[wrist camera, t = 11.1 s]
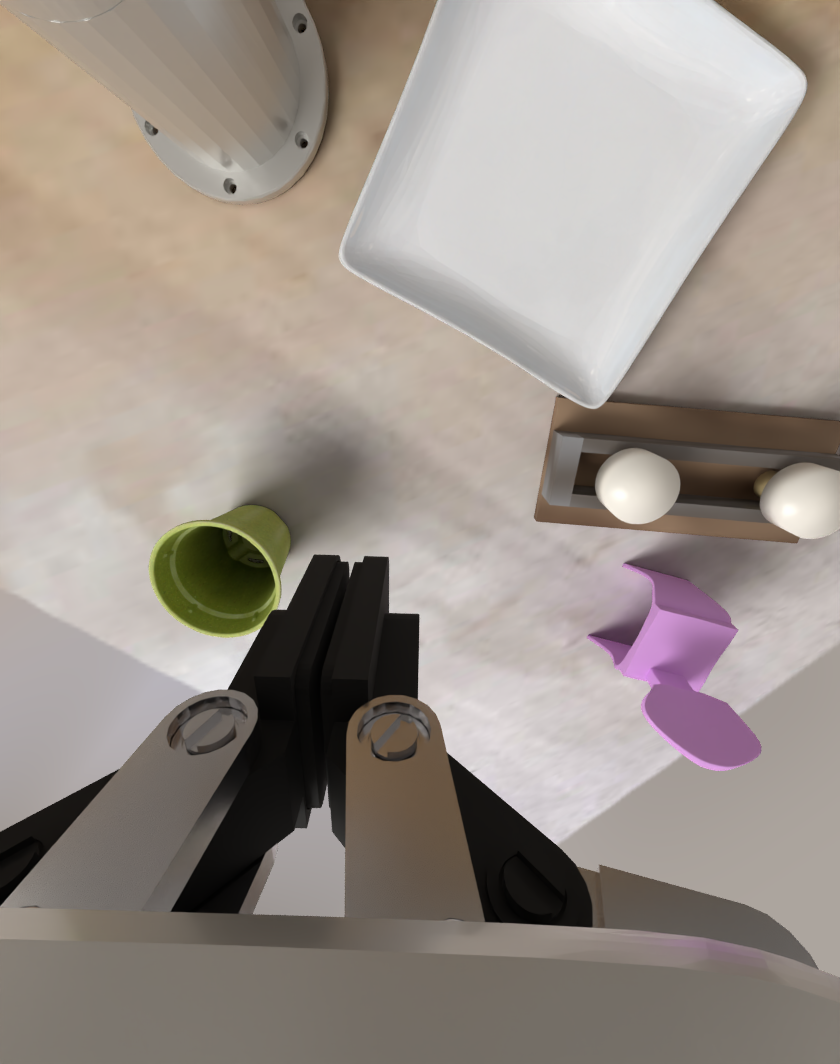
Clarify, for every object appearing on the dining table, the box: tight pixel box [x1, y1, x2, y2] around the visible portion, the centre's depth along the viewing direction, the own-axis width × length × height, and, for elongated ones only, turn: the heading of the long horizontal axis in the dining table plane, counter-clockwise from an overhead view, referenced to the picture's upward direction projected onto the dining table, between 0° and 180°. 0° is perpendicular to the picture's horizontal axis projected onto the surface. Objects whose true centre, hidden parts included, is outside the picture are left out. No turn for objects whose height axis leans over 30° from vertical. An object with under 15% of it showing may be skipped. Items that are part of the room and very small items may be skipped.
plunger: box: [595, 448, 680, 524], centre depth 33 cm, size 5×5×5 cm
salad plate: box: [339, 0, 808, 409], centre depth 29 cm, size 21×21×3 cm
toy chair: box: [587, 563, 761, 771], centre depth 35 cm, size 8×9×15 cm
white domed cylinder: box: [754, 462, 840, 539], centre depth 33 cm, size 5×5×5 cm
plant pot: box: [149, 505, 291, 638], centre depth 36 cm, size 9×9×9 cm
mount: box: [534, 397, 840, 543], centre depth 35 cm, size 10×22×4 cm, turn 85°
